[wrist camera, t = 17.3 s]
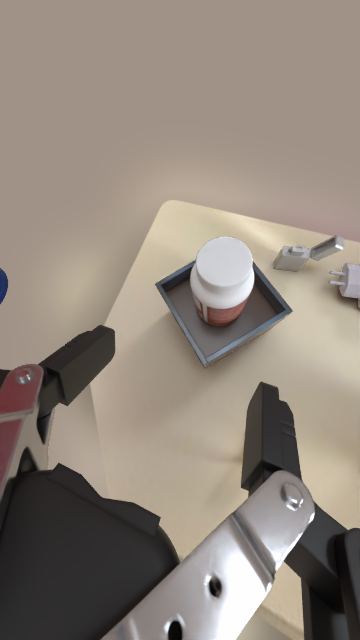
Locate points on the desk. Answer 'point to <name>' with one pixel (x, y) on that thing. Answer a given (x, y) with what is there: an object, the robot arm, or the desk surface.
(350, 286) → the charger
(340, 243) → the lighter
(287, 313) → the cube pen cup
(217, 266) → the pill bottle
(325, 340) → the desk surface
